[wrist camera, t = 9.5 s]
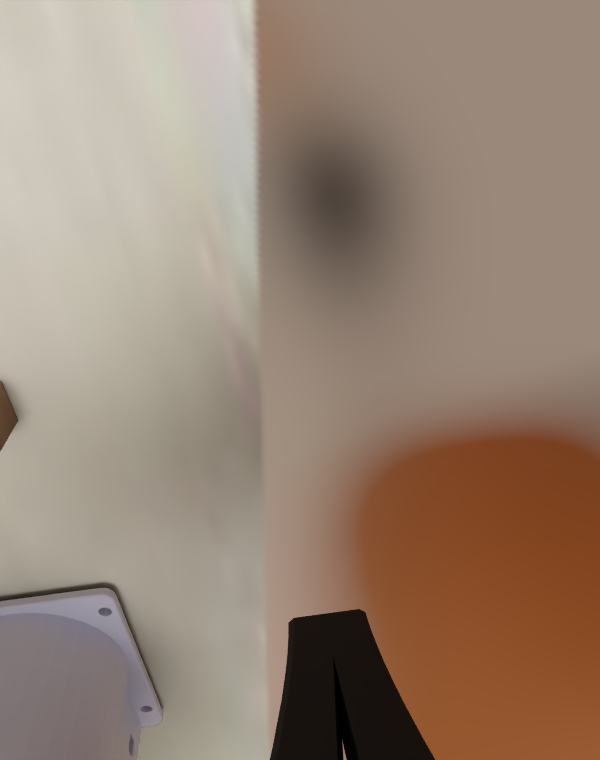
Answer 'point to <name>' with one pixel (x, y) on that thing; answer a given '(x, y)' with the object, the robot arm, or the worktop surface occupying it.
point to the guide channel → (6, 417)
